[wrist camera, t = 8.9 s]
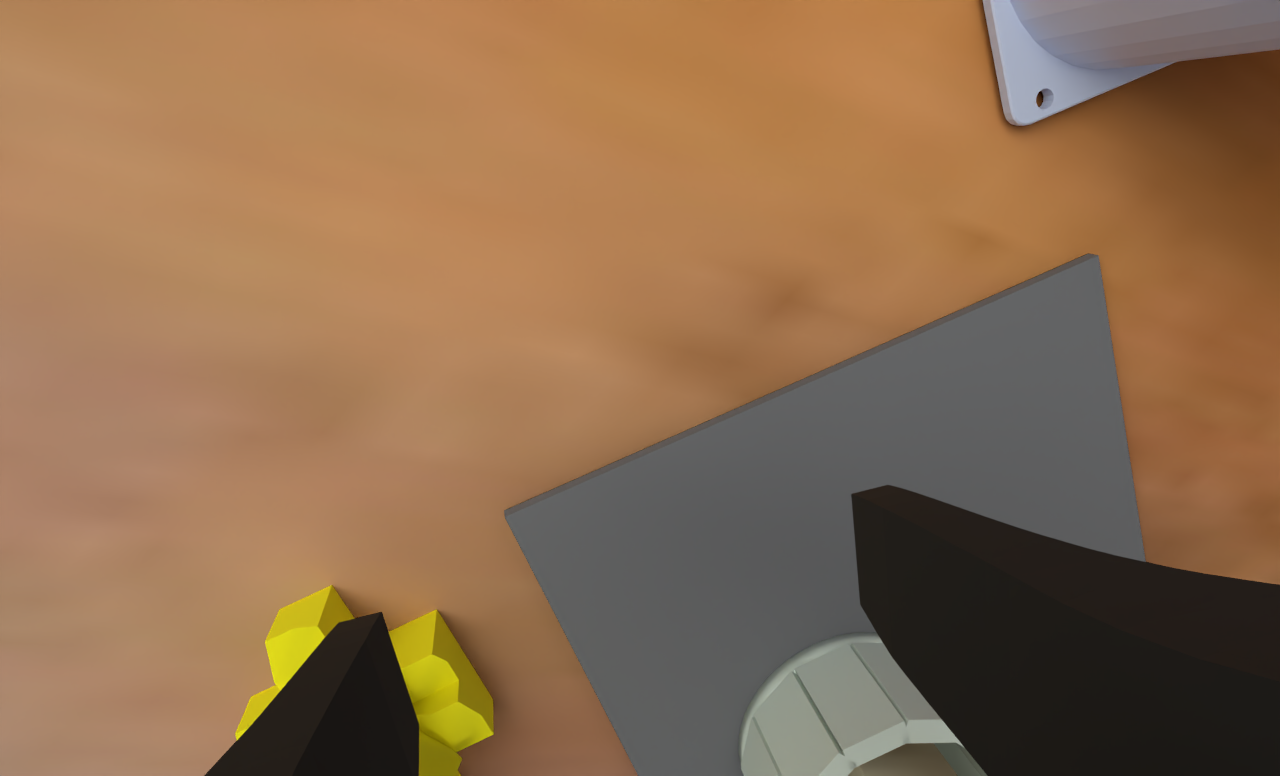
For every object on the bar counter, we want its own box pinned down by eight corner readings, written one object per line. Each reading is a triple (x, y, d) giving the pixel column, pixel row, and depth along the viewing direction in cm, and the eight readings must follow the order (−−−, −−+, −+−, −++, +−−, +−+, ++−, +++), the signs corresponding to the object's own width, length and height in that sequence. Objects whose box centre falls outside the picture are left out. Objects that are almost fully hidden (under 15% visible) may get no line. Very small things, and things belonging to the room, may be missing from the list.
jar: (917, 596, 25) (995, 678, 21) (964, 756, 28) (1041, 854, 24) (707, 693, 25) (748, 794, 21) (776, 847, 27) (823, 961, 23)
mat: (1088, 253, 23) (1098, 255, 23) (1154, 669, 29) (1163, 676, 28) (504, 510, 22) (504, 516, 21) (698, 888, 28) (701, 898, 27)
